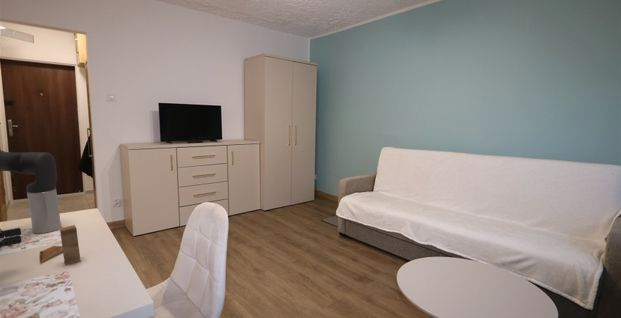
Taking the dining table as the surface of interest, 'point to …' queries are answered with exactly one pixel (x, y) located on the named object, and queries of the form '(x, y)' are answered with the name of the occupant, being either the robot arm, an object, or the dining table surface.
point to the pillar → (70, 244)
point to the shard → (50, 253)
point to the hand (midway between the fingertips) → (21, 234)
